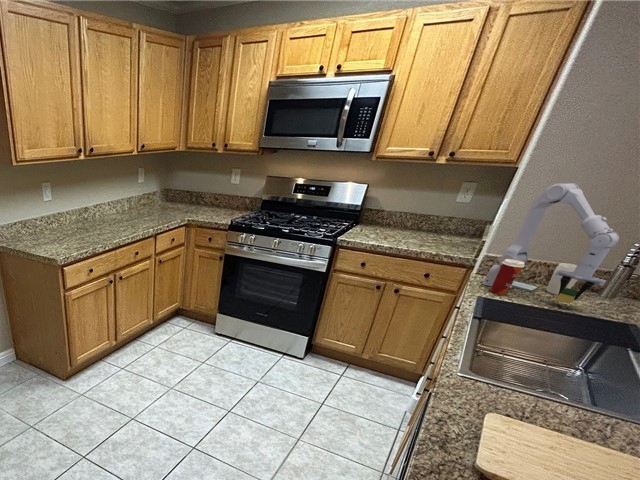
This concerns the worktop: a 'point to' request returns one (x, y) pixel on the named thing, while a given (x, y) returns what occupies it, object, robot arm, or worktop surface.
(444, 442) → the worktop surface
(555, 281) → the cup
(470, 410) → the worktop surface
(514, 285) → the cloth
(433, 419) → the worktop surface
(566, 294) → the scrubber
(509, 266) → the paper cup
